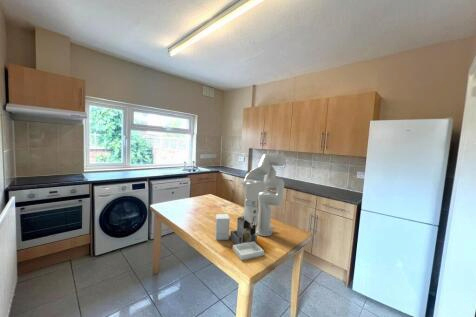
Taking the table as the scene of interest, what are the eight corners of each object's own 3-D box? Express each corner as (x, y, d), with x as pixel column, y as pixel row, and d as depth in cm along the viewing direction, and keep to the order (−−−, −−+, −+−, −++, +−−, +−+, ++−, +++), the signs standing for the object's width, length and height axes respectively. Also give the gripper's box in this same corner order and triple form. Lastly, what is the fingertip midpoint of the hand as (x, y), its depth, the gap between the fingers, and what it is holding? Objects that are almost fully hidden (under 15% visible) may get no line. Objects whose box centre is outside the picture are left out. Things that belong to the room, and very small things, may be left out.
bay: (247, 235, 142) (248, 228, 141) (256, 243, 131) (256, 235, 130) (230, 238, 136) (230, 231, 135) (237, 246, 125) (237, 239, 124)
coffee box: (245, 237, 139) (246, 214, 138) (252, 240, 134) (253, 217, 133) (235, 240, 133) (237, 217, 131) (242, 244, 128) (243, 220, 127)
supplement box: (227, 233, 142) (228, 213, 141) (228, 239, 133) (230, 218, 132) (214, 234, 140) (215, 213, 139) (215, 240, 131) (216, 218, 130)
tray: (253, 245, 127) (254, 241, 127) (263, 255, 116) (264, 250, 116) (232, 249, 121) (232, 245, 120) (241, 260, 110) (241, 255, 110)
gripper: (264, 206, 110) (262, 236, 111) (249, 198, 126) (247, 224, 127) (252, 207, 107) (250, 238, 108) (239, 199, 123) (237, 226, 124)
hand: (249, 231), depth 117 cm, fingers open, 8 cm apart
